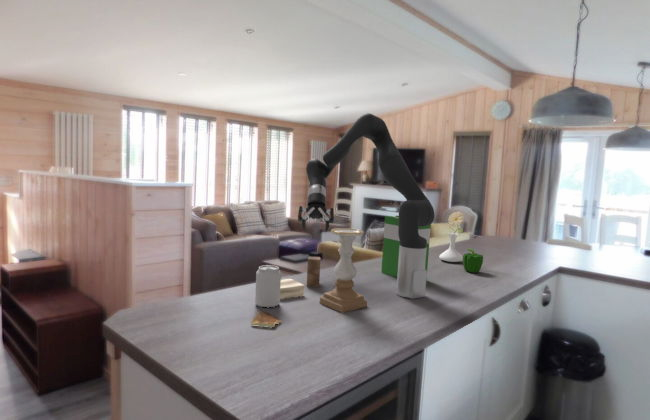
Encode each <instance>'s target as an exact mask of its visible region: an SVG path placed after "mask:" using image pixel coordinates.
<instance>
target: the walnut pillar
mask: <svg viewBox="0 0 650 420" xmlns="http://www.w3.org/2000/svg"><path fill="white" fill-rule="evenodd" d="M306 271H307V272H306V273H307V274H306V287H311V286H315V287H314V288H316V287H317V288H318V287H319V288H320V275H321V257H320V256H309V255H308V256H307V270H306Z"/></svg>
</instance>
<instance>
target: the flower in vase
mask: <svg viewBox="0 0 650 420" xmlns="http://www.w3.org/2000/svg"><path fill="white" fill-rule="evenodd" d="M464 221H465V214H464V213H462V212H461V211H455V212H452V214H450V215H449V217H448V224H449V226H448V227H449V228H450V229H451V230H453V231H454V232H447V234H448V237H449V248H447V249H446V250H445V251H443V252H442V253H440V254H439V255H438V256H439V259H440V260H442V261H445V262H449V263H460V262H463V256H462V255H461V254H460V252H458V251H457V250H456V246H455V245H456V239H457V237H458V236H459V234H460V233H461V234H462V233H464V230H463V227H459V226H460V225H461V224H463V222H464ZM456 226H457V228H456V230H455V229H454V228H453V227H456ZM456 232H458V233H456Z"/></svg>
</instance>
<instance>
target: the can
mask: <svg viewBox="0 0 650 420" xmlns="http://www.w3.org/2000/svg"><path fill="white" fill-rule="evenodd" d="M281 280H282V271H281V270H280V267H279V266H277V265H272V264H265V265H260V266H258V269H257V271H256V273H255V295H254V296H255V297H254V298H255V300H254V302H255V305H257V306H258V307H259V306H260V307H259V308H262V307H267V308H266V309H270V308H269V307H273V308H275V306H276V307H277V306H278V305H280V302H281V301H280V283H281Z"/></svg>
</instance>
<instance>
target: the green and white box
mask: <svg viewBox="0 0 650 420" xmlns="http://www.w3.org/2000/svg"><path fill="white" fill-rule="evenodd" d="M398 220H399V215H395V217H394V216H388V215H385V216H384V227H383V229H384V230H383V244H382V255H381V257H382V260H381V272H380V273H382V274H385V275H386V276H387V275H388V276H391V277H395V278H397V275H398V261H399V248H400V240H399V236H398ZM431 228H432V224H430V225H428V226H423V227H418V233H419V235H420V236H421V237H423V238H425V239H426V240H427V249H426V262H425V270H427V271H428V266H429V264H428V263H429V253H430V252H429V251H430V241H431V239H430V237H431V230H432V229H431ZM426 281H427V278H426Z"/></svg>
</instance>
